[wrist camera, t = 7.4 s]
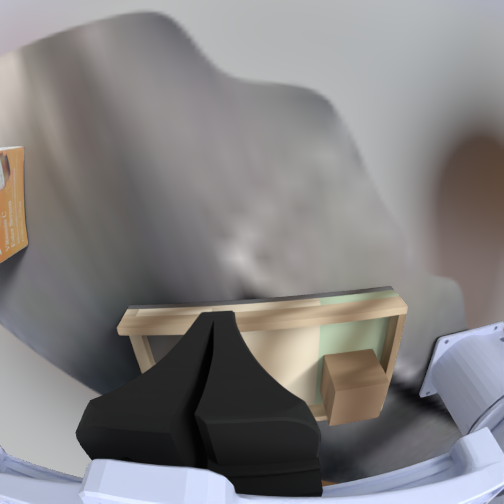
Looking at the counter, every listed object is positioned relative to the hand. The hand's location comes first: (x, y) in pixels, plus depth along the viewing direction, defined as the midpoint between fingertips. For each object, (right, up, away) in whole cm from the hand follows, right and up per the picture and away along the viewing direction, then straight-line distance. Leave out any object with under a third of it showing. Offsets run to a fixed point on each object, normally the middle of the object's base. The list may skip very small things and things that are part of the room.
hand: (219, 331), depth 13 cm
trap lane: (+2, -5, +12) cm, 14 cm away
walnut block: (+9, -6, +11) cm, 16 cm away
